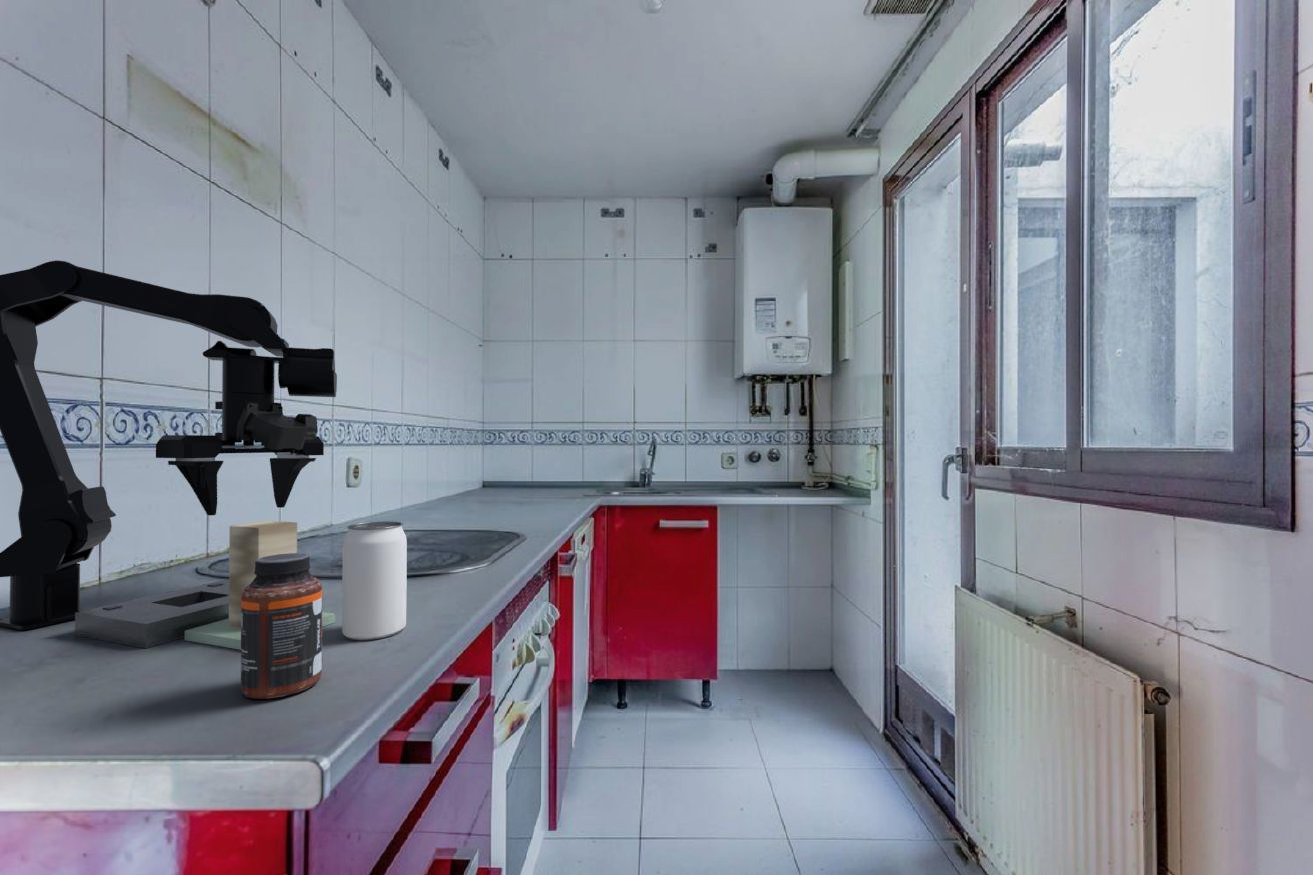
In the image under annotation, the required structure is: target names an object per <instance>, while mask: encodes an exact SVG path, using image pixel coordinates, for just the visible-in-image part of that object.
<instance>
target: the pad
mask: <svg viewBox="0 0 1313 875" xmlns="http://www.w3.org/2000/svg"><path fill="white" fill-rule="evenodd" d="M335 623H336V613H333V612H331V613H330V612H325V611H322V628H323V627H326V626H329V625H332V624H335ZM184 641H187V642H193V643H200V644H205V645H211V646H216V647H223V648H230V649H234V650H239V651H241V628H240V627H234V626H229V619H225V620H221V621H218V622H214V623H211V624H207V625H203V626H200V627H196V628H193V629H189V630H186V631H185V637H184Z"/></svg>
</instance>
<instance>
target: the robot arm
mask: <svg viewBox="0 0 1313 875" xmlns="http://www.w3.org/2000/svg"><path fill="white" fill-rule="evenodd" d="M81 302H86V303H90V304H94V305H95V304H96V305H98V306H99V305H101V306H104V307H109V308H114V309H119V310H123V311H127V312H131V313H136V314H141V315H145V316H149V317H153V318H158V319H163V320H166V321H167V320H168V321H173V322H176V323H181V324H186V325H190V326H193V327H196V328H199V329H200V330H203V331H207V332H209V333H210V334H214V335H215V336H219V337H221V338H223V339H226V340H229V341H232V342H234V343H236V344H240V345H241V346H245V347H249V348H244V347H229V346H227V344H226V343H225V342H223V341H222V340H217V341H216V342H215V344H214V345H213V346H211V347H209V348H208V349H205V350H204V351H203V352H202V356H203V357H205V358H207V359H209V360H211V361H222V364H221V365H222V373H221V374H222V377H221V378H222V381H221V382H222V383H221V385H222V386H221V387H222V390H221V392H222V396H221V398H222V400H221V401H215V403H214V407H215V408H214V409H215V410H220V411H221V432H214V435H207V434H206V435H205V434H202V435H201V434H199V435H198V434H197V435H196V434H191V435H189V434H171V435H169V434H167V435H166V434H165V435H162V436H161V437H160V438H159V440H158V441H157V442H156V444H155V458H156V459H175V460H168V461H167V464H168V466H175V467H177V468H176V469H178V470H179V472H180V473H181V475H182V476H183V478H185V480H186V482H187V483H188V484H189V485H190V487H191V489H192V491H193V493H195V496H196V498H197V499H198V501H199V503H200V505H201V507H202V508H203V510H204V512H205V514H206V515H207V516H216V515H217V510H218V473H219V470H220V469H221V468H222V465H223V464H224V460H216V457H217V456H218V455H220V454H264V453H266V454H268V453H271V454H272V453H273V454H275V456H276V457H269V465H270V472H271V480H272V481H271V482H272V489H273V497H274V501H275V504H276V507H277V508H280V509H281V508H285V507H286V505H287V503H288V499H289V497H290V494H291V492H292V490H293V487H294V485H295V482H296V480H297V479H298V476H299V474H300V473H301V471H302V470H303V468H305V467H306V466H307V465H308V464H309V463H312V462H315V461H316V460H317V458H316V457H310V456H324V455H325V450H324V449H325V445H324V444H325V443H324V442H323V441H322V439H321V438H320V436H317V434H318V428H319V427H318V417H317V416H315V415H313V414H310V413H298V414H297V415H295V417H294V416H287V415H284V413H283V411H284V410H283V409H284V408H283V406H282V402H275V371H276V370H275V364H278V369H277V372H278V373H277V378H278V379H277V380H278V387H279V388H280V389H287V393H288V395H289V396H290V397H316V398H317V397H318V398H319V397H320V398H336V396H337V390H338V389H337V388H338V387H337V386H338V385H337V384H338V375H337V372H336V360H335V350H334V349H333V348H327V347H325V348H324V347H323V348H322V347H321V348H305V347H304V348H302V347H290V343H289V342H288V341H286V340H285V338H281V337H280V335H279V334H278V323H277V321H276V318H275V317H274V316H273V315H272V313H271V312H270V311H269V310H268V309H267V307H266V306H265V305H264V304H263V303H261V302H260V301H259V300H256V299H253V298H251V297H246V296H239V295H238V296H237V295H230V294H229V295H228V294H220V293H219V294H218V293H217V294H216V293H215V294H212V293H211V294H208V293H207V294H206V293H205V294H201V293H192V292H191V293H189V292H185V291H182V290H177V289H172V288H169V287H164V286H160V285H157V284H152V283H149V282H143V281H140V280H136V279H131V278H127V277H124V276H119V275H115V274H110V273H105V272H102V271H98V270H93V269H91V268H90V269H89V268H86V267H82V266H78V265H75V264H73V263H71V262H68V261H65V260H59V259H58V260H50V261H47V262H44V263H41V264H38V265H36V266H34V267H32V268H27V269H23V270H22V269H21V270H18V271H13V272H9V273H4V274H3V273H2V274H0V433H1V436H2V439H3V441H4V443H5V447H6V449H7V452H8V454H9V456H10V457H9V458H10V459H11V462H12V463H13V466H14V470H15V472H16V474H17V477H18V479H19V481H20V484H21V495H20V502H19V508H18V512H17V514H18V516H17V517H18V523H19V531H20V537H19V538H18V539H17V540H15V541H14V542H12V543H11V544H10V545H8V546H7V547H6V548H5V549H3V550H2V551H1V552H0V578H9V616H7V617H2V618H0V627H5V628H10V629H15V630H22V631H24V630H25V631H26V630H31V629H32V630H33V629H35V628H39V627H43V626H45V627H46V626H49V625H53V624H58V623H62V622H67V621H70V620H75V612H80V611H84V610H89V609H88V608H82V607H80V606H81V604H80V601H81V600H80V596H81V594H80V592H81V564H80V562H84V561H85V562H86V561H87V560H89V558H90V556H91V554H92V552H93V550H94V548H95V547H97V546H99V545H100V544H101V543H103V542H104V541H105V540H106V539H107V537H108V535H109V534H110V533H111V531H112V528H113V527H112V520H111V518H113V517H116V516H117V514H116V513H115V512H114V510H112V509H111V507H110V505H109V503H108V497H107V492H106V489H105V487H104V486H96V487H94V486H93V487H87V486H86V485H85V484H84V483H83V481H81V480H80V479H79V478H78V475H76V473H75V470H74V468H73V467H74V466H73V464H72V461H71V460H70V457H69V455H68V452H67V448H66V446H65V443H64V441H63V438H62V436H61V434H60V431H59V427H58V426H57V423H56V420H55V417H54V415H53V412H52V410H51V407H50V405H49V402H48V399H47V397H46V394H45V391H44V388H43V386H42V383H41V381H40V380H41V379H40V377H39V376H38V375H39V374H38V373H37V371H36V366H35V361H36V360H35V359H36V356H37V349H38V345H39V342H38V335H37V327H38V326H41V325H43V324H46V323H48V322H49V321H53V320H54V319H55V318H56V317H58V316H59V315H61V314H62V313H63V312H65V311H66V310H68V309H70V308H71V307H72V306H74V305H75V304H78V303H81ZM254 348H262V349H264V350H266V351H267V352H268V353H270V354H272V355H274V356H266V355H264V356H263V355H257V352H256V350H255V349H254ZM237 443H242V445H236V444H237ZM255 443H258V444H259V443H260V444H259V445H256V444H255Z"/></svg>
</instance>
